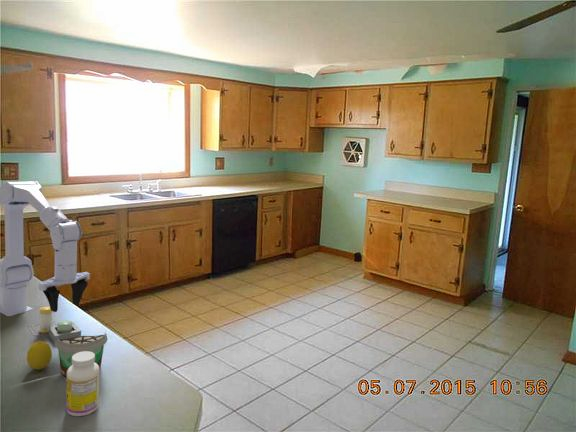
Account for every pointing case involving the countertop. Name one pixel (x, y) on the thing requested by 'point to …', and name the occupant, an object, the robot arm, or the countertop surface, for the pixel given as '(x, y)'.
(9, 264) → the robot arm
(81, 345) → the food container
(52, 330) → the button housing
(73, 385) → the supplement bottle
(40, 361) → the lemon
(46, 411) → the countertop surface
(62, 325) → the button
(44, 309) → the two-tone rounded cylinder
